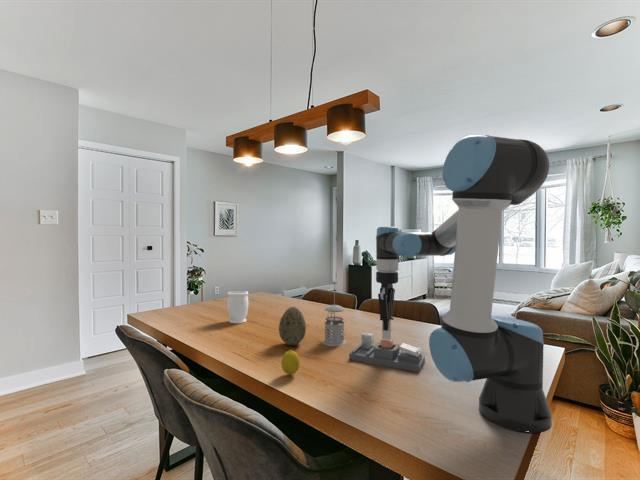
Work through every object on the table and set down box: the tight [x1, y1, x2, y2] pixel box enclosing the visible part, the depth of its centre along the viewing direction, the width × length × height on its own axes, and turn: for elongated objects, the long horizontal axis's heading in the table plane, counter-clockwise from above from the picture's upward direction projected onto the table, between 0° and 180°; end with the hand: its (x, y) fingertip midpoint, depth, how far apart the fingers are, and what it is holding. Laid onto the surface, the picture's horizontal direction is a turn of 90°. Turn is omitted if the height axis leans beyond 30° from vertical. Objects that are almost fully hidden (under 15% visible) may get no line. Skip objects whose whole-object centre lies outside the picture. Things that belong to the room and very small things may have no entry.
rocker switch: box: [399, 342, 422, 357], centre depth 111 cm, size 4×6×2 cm
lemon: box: [281, 349, 300, 377], centre depth 102 cm, size 6×6×8 cm
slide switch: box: [361, 332, 375, 349], centre depth 121 cm, size 3×4×5 cm
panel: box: [348, 342, 426, 373], centre depth 114 cm, size 10×24×5 cm, turn 63°
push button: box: [379, 338, 394, 350], centre depth 114 cm, size 4×4×3 cm
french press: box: [322, 280, 347, 347], centre depth 135 cm, size 10×12×25 cm
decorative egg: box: [278, 306, 307, 346], centre depth 131 cm, size 11×11×15 cm
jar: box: [226, 290, 249, 324], centre depth 166 cm, size 11×10×15 cm
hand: (386, 338), depth 114 cm, fingers closed
